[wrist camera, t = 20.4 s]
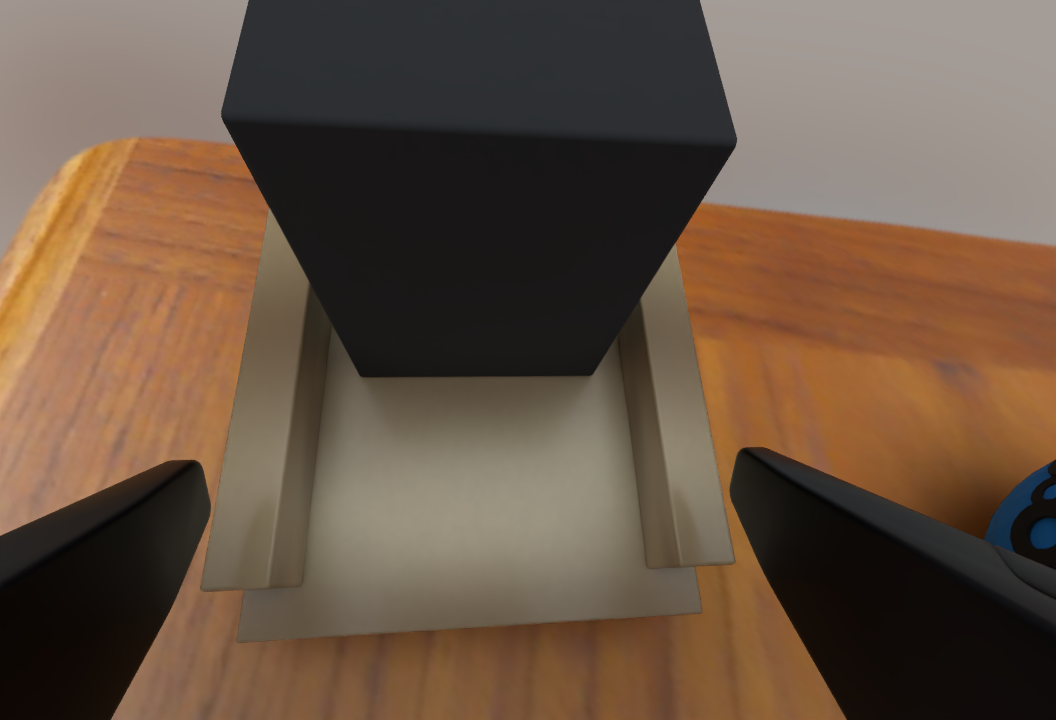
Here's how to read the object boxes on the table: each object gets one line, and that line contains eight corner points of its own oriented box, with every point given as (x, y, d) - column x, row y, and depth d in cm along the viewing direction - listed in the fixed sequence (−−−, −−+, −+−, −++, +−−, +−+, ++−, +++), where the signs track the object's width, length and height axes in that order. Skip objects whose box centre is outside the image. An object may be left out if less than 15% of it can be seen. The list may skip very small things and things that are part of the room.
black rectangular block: (593, 376, 14) (742, 143, 6) (358, 378, 13) (215, 115, 6) (579, 250, 15) (687, -58, 8) (370, 244, 14) (269, -100, 7)
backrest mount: (658, 606, 14) (777, 625, 9) (283, 629, 13) (151, 667, 8) (614, 270, 19) (676, 142, 13) (327, 264, 17) (262, 120, 12)
